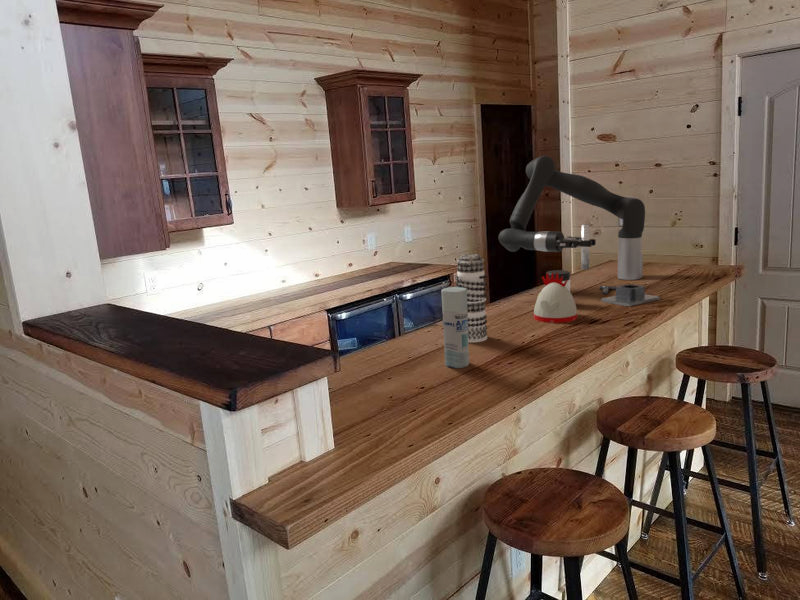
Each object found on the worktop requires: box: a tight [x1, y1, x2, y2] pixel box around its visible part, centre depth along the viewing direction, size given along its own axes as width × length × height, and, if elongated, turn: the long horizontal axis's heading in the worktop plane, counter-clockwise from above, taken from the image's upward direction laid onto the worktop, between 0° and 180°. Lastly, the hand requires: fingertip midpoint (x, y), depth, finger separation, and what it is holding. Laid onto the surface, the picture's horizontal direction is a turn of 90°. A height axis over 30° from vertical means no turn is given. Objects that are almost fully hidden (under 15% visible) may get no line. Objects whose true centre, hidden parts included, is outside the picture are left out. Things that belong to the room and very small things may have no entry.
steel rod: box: [580, 223, 590, 270], centre depth 226 cm, size 3×3×16 cm
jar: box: [545, 269, 571, 292], centre depth 220 cm, size 9×8×12 cm
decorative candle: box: [454, 253, 488, 343], centre depth 184 cm, size 9×9×25 cm
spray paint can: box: [440, 286, 470, 369], centre depth 161 cm, size 6×6×20 cm
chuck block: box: [600, 283, 660, 307], centre depth 222 cm, size 16×12×5 cm
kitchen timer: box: [533, 272, 578, 324], centre depth 203 cm, size 14×14×15 cm
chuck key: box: [599, 285, 617, 295], centre depth 238 cm, size 10×6×2 cm, turn 155°
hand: (593, 243), depth 223 cm, fingers closed on steel rod, 3 cm apart
